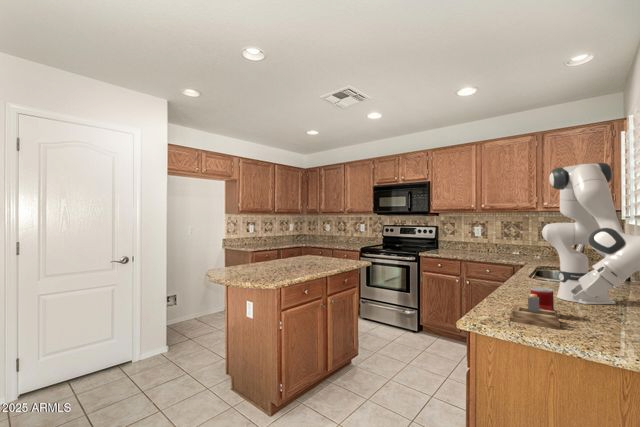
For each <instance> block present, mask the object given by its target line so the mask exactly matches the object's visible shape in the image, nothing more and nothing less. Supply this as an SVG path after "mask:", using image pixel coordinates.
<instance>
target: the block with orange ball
mask: <svg viewBox="0 0 640 427" xmlns="http://www.w3.org/2000/svg"><path fill="white" fill-rule="evenodd" d="M527 307H528V312H531V313H537V314H539V297H537V295H536V294H531V293H529V295H528V297H527Z"/></svg>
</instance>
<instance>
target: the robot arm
mask: <svg viewBox="0 0 640 427" xmlns="http://www.w3.org/2000/svg"><path fill="white" fill-rule="evenodd" d="M612 177H613V171H612V168H611V166H610V165H609V164H608V163H606V162H595V163H579V164H576V165H569V166H564V167H562V166H561V167H556V168H554V169H552V171H551V172H550V175H549V180H548V181H549V184H550V186H551V187H552V188H553V189H554V190H557V191H558V190H559V212H560V214H561V215H563V216H565V217H566V218H569V219H572V220H574V222H554V223H553V222H552V223H547V224H545V225H544V227H543V228H542V229H541V230H542V231H541V235H542V237H543V240H544V241H546V242H547V243H549V244H550V245H551V246H552V247H554V249H555V251H556V252H557V254H558V258H559V266H560V267H559V271H558V272H559V273H558V274H559V275H558V277H559V278H558V280H559V286H558V291H557V295H556V298H558V299H560V300H564V301H568V302H574V303H579V304H583V305H616V300H614V299H612V298H610V296H609V292H608V291H610V290H612V289H613V288H618V287H620V286H621V285H622V284H623V282H624V281H625V280H628V279H629V278H630V277H631V276H632V275H633V274H634V273H636V272H640V235H633V234H629V233H628V234H627V233H625V232H624V229H623V226H622V224H621V221H620V219H619V217H618V215H617V212H616V207H615V204H614V201H613V197H612V196H613V195H612V192H611V191H612V190H611V188H610V185H609V183H610V182H611V181H612ZM572 245H587V246H590V247H591V248H592V249H593V250H594V251H596V252H597V254H599V255H601V256H602V257H603V258H602V259H600V260H599V261H598V262H596V263H595V264H593V265H592V268H593V269H592V270H591V271H589V258H588V256H587V255H586V254H585V253H583V252H581V251H578V250H576V249H574V248H573V247H572Z"/></svg>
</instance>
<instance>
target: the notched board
mask: <svg viewBox="0 0 640 427" xmlns="http://www.w3.org/2000/svg"><path fill="white" fill-rule="evenodd" d="M509 322H514V323H520V324H525V325H533V326H537V327H541V328H542V327H544V328H549V329H554V330H560V329H561V326H560V318H559V316H558V317H557V316H556V311H549V310H542V309H539V314H537V313H531V312H528V306H527V307H526V306H520V305H513V308H512V310H511V312H510V314H509Z"/></svg>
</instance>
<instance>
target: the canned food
mask: <svg viewBox="0 0 640 427" xmlns="http://www.w3.org/2000/svg"><path fill="white" fill-rule="evenodd" d="M530 294H536V295H537V297H539V309H542V310H549V311H554V310H555V309H554V304H555V303H554V301H555V300H554V298H555V297H554V289H553V288H548V287H545V286H543V287H542V286H532V287H530Z"/></svg>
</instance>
